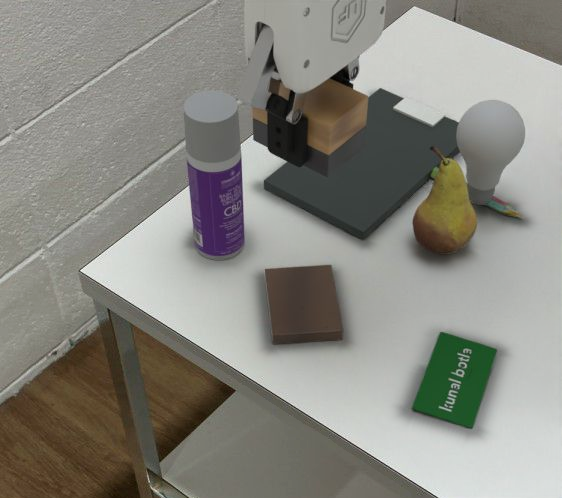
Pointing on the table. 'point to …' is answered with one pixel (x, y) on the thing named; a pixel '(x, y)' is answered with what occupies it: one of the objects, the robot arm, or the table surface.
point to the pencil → (493, 202)
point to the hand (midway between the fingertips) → (309, 138)
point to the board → (371, 169)
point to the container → (215, 173)
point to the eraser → (326, 125)
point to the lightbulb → (488, 145)
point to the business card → (455, 380)
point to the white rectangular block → (419, 112)
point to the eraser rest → (303, 304)
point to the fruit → (445, 211)
